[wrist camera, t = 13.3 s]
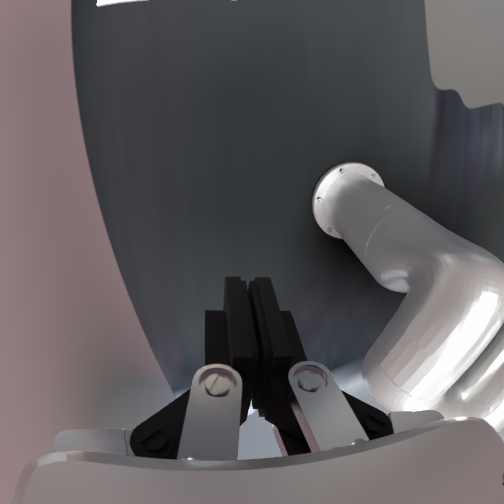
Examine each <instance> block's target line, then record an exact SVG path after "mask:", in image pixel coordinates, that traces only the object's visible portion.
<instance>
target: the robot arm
mask: <svg viewBox="0 0 504 504" xmlns="http://www.w3.org/2000/svg"><path fill="white" fill-rule="evenodd" d="M340 168H341V170H340ZM339 170H340V171H339ZM371 174H372V175H371ZM317 197H319V198H318V199H317ZM312 211H313V215H314V218H315V220H316V222H317V223H318V225H319V226H320V227H321V228H322V230H323V231H324V232H326V233H327V234H329V235H331V236H333V237H336V238H339V239H343V240H344V241H345V242H346V243H347V244H348V246H349V247H350V248H351V249H352V251H353V252H354V253H355V254H356V256H357V257H358V258H359V259H360V261H361V262H362V263H363V264H364V266H365V267H366V268H367V270H368V271H369V272H370V273H371V274H372V276H373V277H374V278H375V279H376V281H377V282H378V283H379V284H381V285H382V286H383V287H385V288H387V289H389V290H392V291H396V292H402V293H407V295H406V297H405V298H404V300H403V302H402V303H401V305H400V306H399V309H398V310H397V312H396V313H395V314H394V316H393V317H392V319H391V320H390V322H389V323H388V324H387V326H386V327H385V329H384V330H383V331H382V333H381V334H380V335H379V337H378V338H377V340H376V341H375V342H374V344H373V345H372V347H371V348H370V350H369V351H368V353H367V354H366V356H365V359H364V361H363V365H362V378H363V382H364V384H365V387H366V388H367V390H368V391H369V393H370V394H371V395H372V397H373V398H374V399H375V400H376V401H377V402H379V403H380V404H381V405H382V406H384V407H385V408H386V409H388V410H389V411H391V412H390V413H389V414H385V413H384V412H382V411H380V410H379V409H377V408H375V407H373V406H370V405H369V404H367V403H365V402H363V401H361V400H359V399H357V398H355V397H353V396H351V395H349V394H347V393H345V392H344V391H342V390H340V388H339V386H338V384H337V383H336V381H335V379H334V377H333V376H332V374H331V373H330V371H329V370H328V369H327V368H326V367H324V366H323V365H321V364H319V363H316V362H312V361H307V358H306V355H305V352H304V349H303V346H302V343H301V340H300V337H299V334H298V331H297V328H296V325H295V322H294V319H293V317H292V314H291V312H290V311H280V309H279V306H278V302H277V299H276V296H275V292H274V289H273V286H272V282H271V279H270V278H268V277H255V280H254V281H250V282H249V288H248V290H247V285H246V281H241V278H240V277H228V276H226V277H225V290H224V305H223V311H216V310H205V366H204V367H202V368H200V369H199V370H198V371H197V372H196V374H195V376H194V378H193V382H192V387H191V389H189V390H188V391H187V392H185V393H184V394H182V395H181V396H180V397H178V398H177V399H176V400H174V401H173V402H171V403H170V404H169V405H167V406H166V407H164V408H163V409H161V410H160V411H159V412H157V413H156V414H154V415H153V416H151V417H150V418H148V419H147V420H146V421H144V422H143V423H141V424H140V425H138V426H137V427H136V428H135V429H131V430H124V429H123V428H109V429H81V430H80V429H77V430H64V431H62V432H60V433H59V434H57V436H56V437H55V439H54V441H53V453H49V454H45V455H42V456H38V457H36V458H34V459H32V460H31V461H29V462H28V464H27V465H26V466H25V467H24V469H23V471H22V472H21V474H20V477H19V479H18V482H17V485H16V489H15V492H14V496H13V501H12V504H504V442H503V441H502V439H501V437H500V436H499V434H498V432H500V431H501V430H502V429H503V428H504V264H503V263H502V262H501V261H500V260H499V259H498V258H497V257H495V256H494V255H493V254H491V253H490V252H488V251H487V250H485V249H483V248H481V247H479V246H477V245H475V244H473V243H471V242H470V241H468V240H466V239H464V238H462V237H460V236H458V235H456V234H455V233H453V232H451V231H449V230H448V229H446V228H444V227H443V226H441V225H440V224H438V223H437V222H435V221H434V220H432V219H431V218H429V217H428V216H427V215H425V214H424V213H422V212H421V211H419V210H418V209H416V208H415V207H413V206H412V205H410V204H409V203H407V202H406V201H404V200H403V199H401V198H400V197H398V196H397V195H395V194H394V193H392V192H390V191H389V190H387V189H386V188H385V187H384V184H383V181H382V179H381V178H380V176H379V175H378V173H377V172H375V171H374V170H373V169H372V168H370V167H369V166H367V165H364V164H362V163H358V162H345V163H341V164H338V165H336V166H334V167H332V168H331V169H330V170H328V171H327V172H326V173H325V174H324V175H323V176H322V177H321V179H320V180H319V182H318V183H317V185H316V187H315V190H314V193H313V197H312ZM328 227H329V228H328ZM251 400H252V407H253V409H258V412H259V416H260V417H265V420H267V421H269V422H270V423H272V428H273V432H274V435H275V437H276V440H277V443H278V445H279V448H280V450H281V453H282V456H283V457H275V458H264V459H249V460H237V455H238V441H239V427H240V426H241V425H242V424H243V423H244V422H245V421H246V419H247V415H248V410H249V407H250V402H251Z"/></svg>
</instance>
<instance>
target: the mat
mask: <svg viewBox="0 0 504 504" xmlns="http://www.w3.org/2000/svg"><path fill="white" fill-rule="evenodd" d="M136 1H146V0H98V2H97V6H98V7H100V6H106V5H112V4H119V3H127V2H136ZM235 1H236V0H235Z"/></svg>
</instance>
